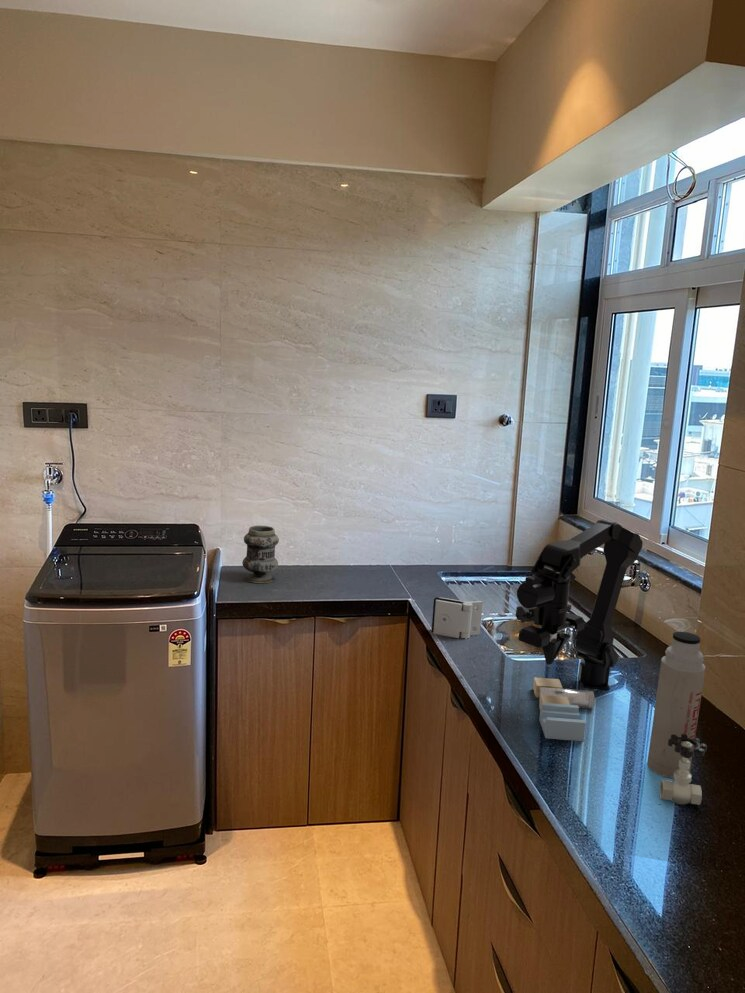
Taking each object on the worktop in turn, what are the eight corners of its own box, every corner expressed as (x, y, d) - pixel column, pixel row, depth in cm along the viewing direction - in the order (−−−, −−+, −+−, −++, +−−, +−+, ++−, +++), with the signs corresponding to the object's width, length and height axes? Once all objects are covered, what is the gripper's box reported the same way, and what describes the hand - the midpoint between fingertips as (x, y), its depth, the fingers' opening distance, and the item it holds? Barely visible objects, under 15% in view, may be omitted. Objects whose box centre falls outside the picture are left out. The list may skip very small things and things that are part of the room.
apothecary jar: (274, 585, 249) (276, 533, 245) (238, 583, 249) (240, 531, 245) (279, 575, 261) (281, 525, 257) (245, 573, 261) (246, 523, 257)
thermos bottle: (698, 773, 147) (719, 640, 142) (670, 782, 143) (690, 645, 138) (666, 754, 154) (684, 625, 149) (638, 761, 150) (656, 630, 145)
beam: (557, 690, 181) (559, 679, 180) (569, 718, 167) (570, 705, 167) (532, 688, 181) (534, 677, 181) (542, 716, 167) (543, 703, 167)
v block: (575, 722, 165) (577, 705, 164) (583, 741, 157) (585, 722, 156) (539, 720, 166) (541, 702, 165) (545, 738, 158) (547, 719, 157)
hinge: (479, 634, 216) (482, 601, 214) (479, 641, 210) (482, 607, 209) (431, 629, 217) (434, 596, 215) (430, 635, 212) (433, 602, 210)
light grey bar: (589, 701, 176) (591, 687, 174) (592, 712, 172) (595, 697, 170) (538, 697, 176) (540, 683, 175) (540, 708, 172) (542, 694, 171)
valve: (701, 816, 133) (711, 754, 131) (663, 809, 134) (671, 748, 132) (693, 795, 140) (702, 736, 137) (656, 789, 141) (665, 731, 139)
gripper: (548, 582, 182) (542, 643, 185) (501, 598, 169) (496, 662, 172) (588, 595, 174) (582, 657, 177) (542, 612, 161) (536, 679, 164)
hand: (549, 663), depth 173 cm, fingers closed
